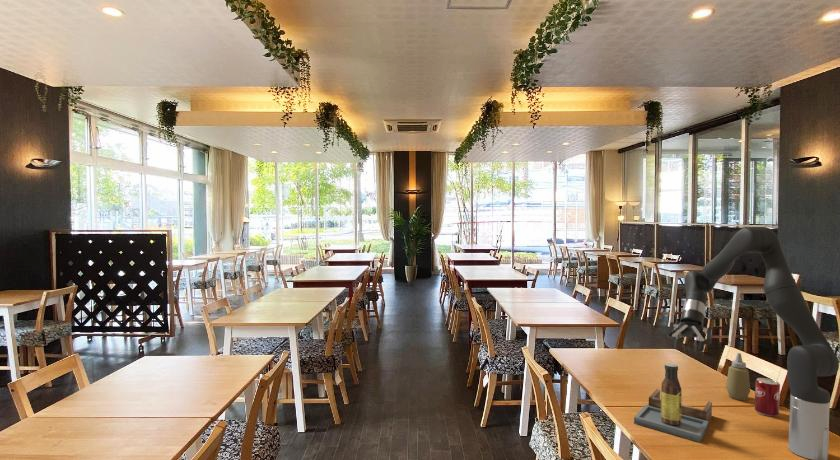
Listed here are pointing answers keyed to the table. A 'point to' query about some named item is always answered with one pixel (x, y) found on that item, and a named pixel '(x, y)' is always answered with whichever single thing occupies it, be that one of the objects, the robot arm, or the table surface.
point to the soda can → (767, 397)
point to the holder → (684, 407)
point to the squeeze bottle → (738, 379)
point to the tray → (686, 429)
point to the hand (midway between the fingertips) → (686, 349)
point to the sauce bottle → (671, 396)
